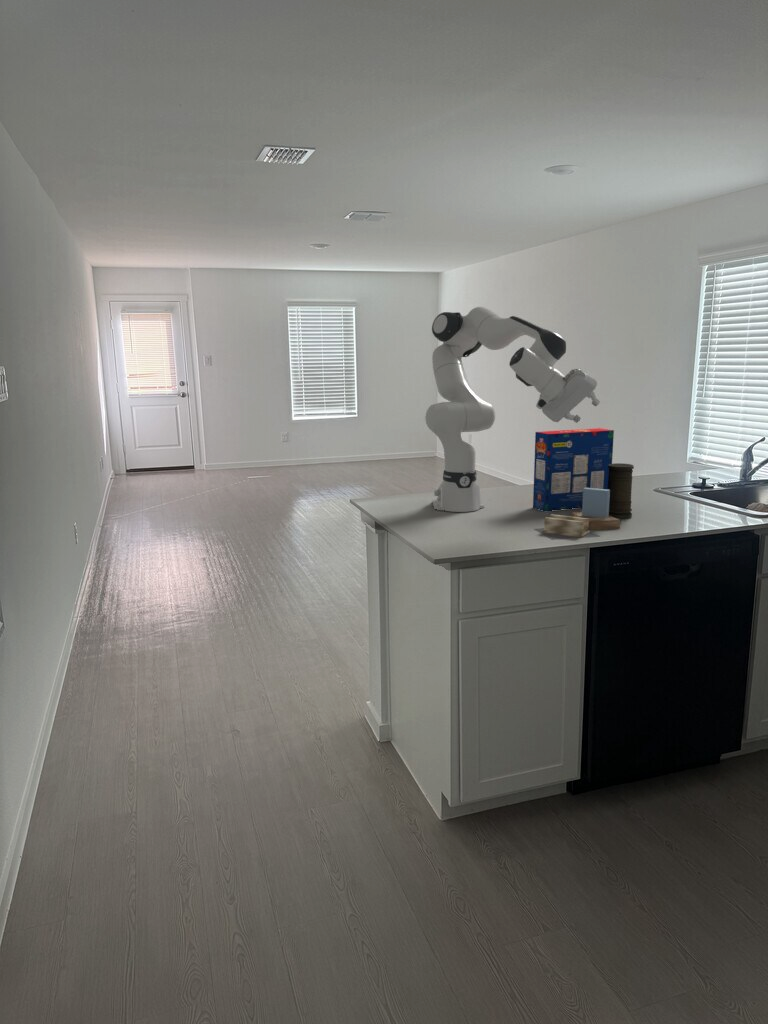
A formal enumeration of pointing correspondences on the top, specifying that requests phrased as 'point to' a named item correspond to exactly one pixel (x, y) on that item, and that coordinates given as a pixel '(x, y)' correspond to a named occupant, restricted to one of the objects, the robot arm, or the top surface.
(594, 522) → the brown flat block
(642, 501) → the top surface
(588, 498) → the light blue square slab
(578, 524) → the mottled beige block
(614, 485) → the container
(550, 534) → the mat
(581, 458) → the blue cardboard box
